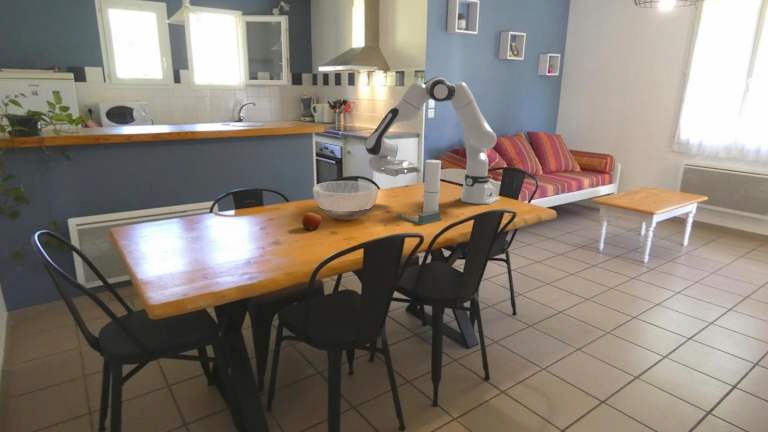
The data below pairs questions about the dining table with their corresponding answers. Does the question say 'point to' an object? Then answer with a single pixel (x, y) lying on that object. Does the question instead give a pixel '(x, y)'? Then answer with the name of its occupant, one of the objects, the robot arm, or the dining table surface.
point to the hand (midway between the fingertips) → (412, 171)
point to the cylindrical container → (431, 185)
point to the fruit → (311, 221)
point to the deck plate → (420, 217)
